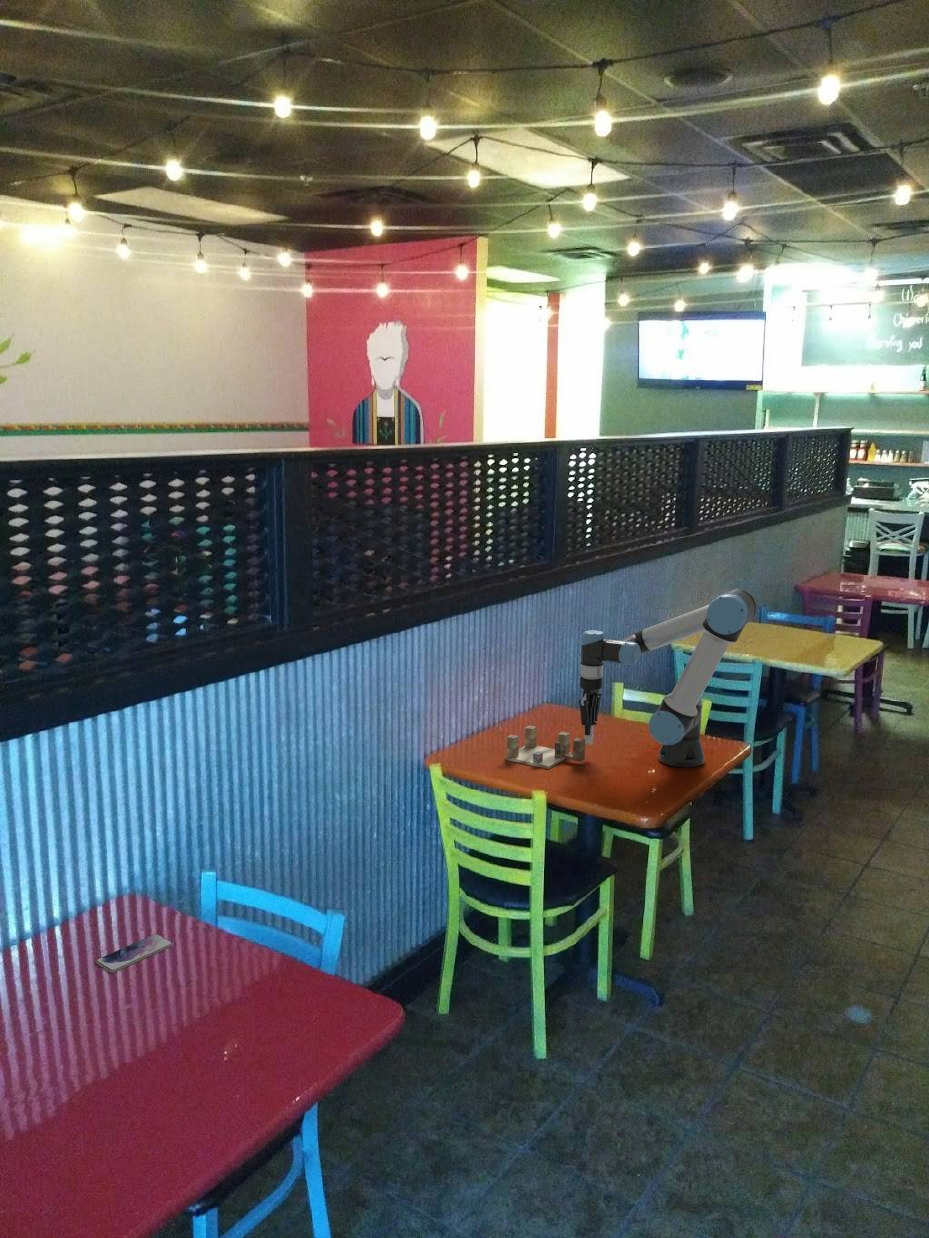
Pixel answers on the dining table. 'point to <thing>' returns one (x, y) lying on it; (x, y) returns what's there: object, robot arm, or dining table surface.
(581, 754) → the hinged leg
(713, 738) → the dining table surface
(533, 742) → the stool seat
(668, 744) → the robot arm
